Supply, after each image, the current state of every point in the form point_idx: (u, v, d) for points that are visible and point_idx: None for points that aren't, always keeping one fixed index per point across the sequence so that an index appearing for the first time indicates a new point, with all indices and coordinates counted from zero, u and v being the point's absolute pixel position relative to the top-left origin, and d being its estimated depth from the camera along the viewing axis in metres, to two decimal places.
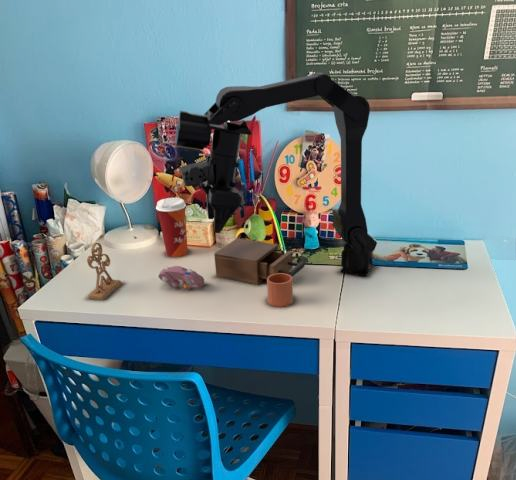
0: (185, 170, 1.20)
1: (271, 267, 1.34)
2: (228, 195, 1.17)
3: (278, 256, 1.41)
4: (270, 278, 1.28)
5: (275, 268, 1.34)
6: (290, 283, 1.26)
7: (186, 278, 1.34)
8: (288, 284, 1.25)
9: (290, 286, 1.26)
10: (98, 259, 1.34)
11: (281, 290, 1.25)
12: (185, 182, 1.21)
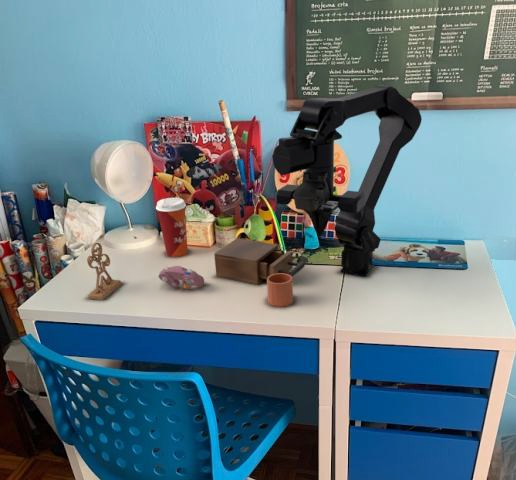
0: (310, 196, 1.17)
1: (271, 267, 1.34)
2: (361, 198, 1.20)
3: (278, 256, 1.41)
4: (270, 278, 1.28)
5: (275, 268, 1.34)
6: (290, 283, 1.26)
7: (186, 278, 1.34)
8: (288, 284, 1.25)
9: (290, 286, 1.26)
10: (98, 259, 1.34)
11: (281, 290, 1.25)
12: (313, 207, 1.18)
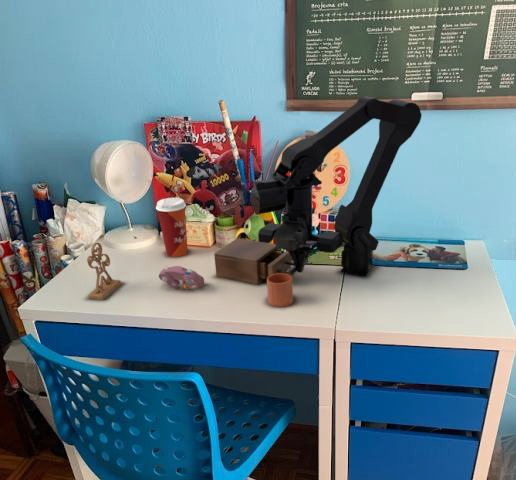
0: (289, 237, 1.24)
1: (269, 267, 1.34)
2: (338, 238, 1.27)
3: (276, 256, 1.41)
4: (270, 278, 1.28)
5: (274, 268, 1.35)
6: (290, 283, 1.26)
7: (186, 278, 1.34)
8: (288, 284, 1.25)
9: (290, 286, 1.26)
10: (98, 259, 1.34)
11: (281, 290, 1.25)
12: (292, 247, 1.25)
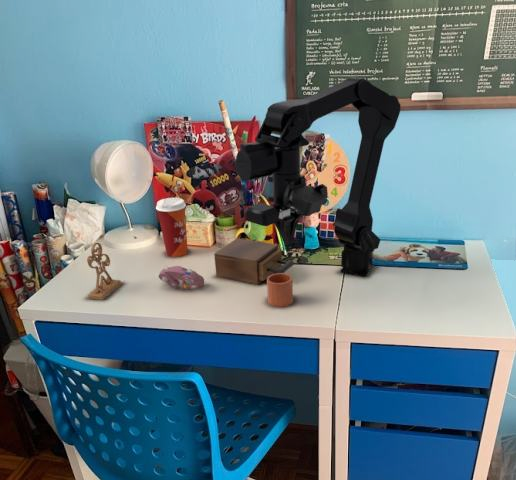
0: (320, 196, 1.16)
1: (260, 265, 1.35)
2: None
3: None
4: (270, 278, 1.28)
5: (264, 266, 1.36)
6: (290, 283, 1.26)
7: (186, 278, 1.34)
8: (288, 284, 1.25)
9: (290, 286, 1.26)
10: (98, 259, 1.34)
11: (281, 290, 1.25)
12: (320, 207, 1.17)
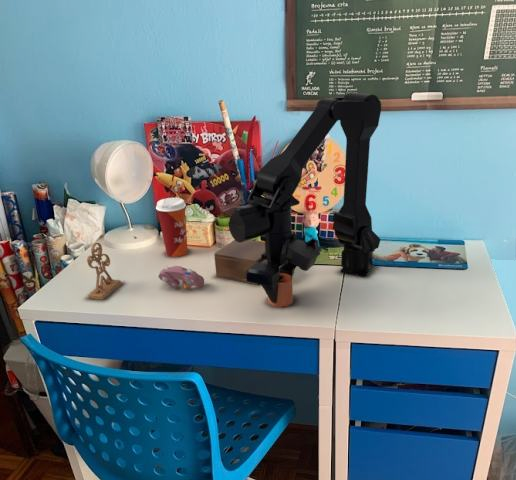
0: (315, 250, 1.21)
1: None
2: None
3: None
4: None
5: None
6: (290, 283, 1.26)
7: (186, 278, 1.34)
8: (288, 284, 1.25)
9: (290, 286, 1.26)
10: (98, 259, 1.34)
11: (281, 290, 1.25)
12: None
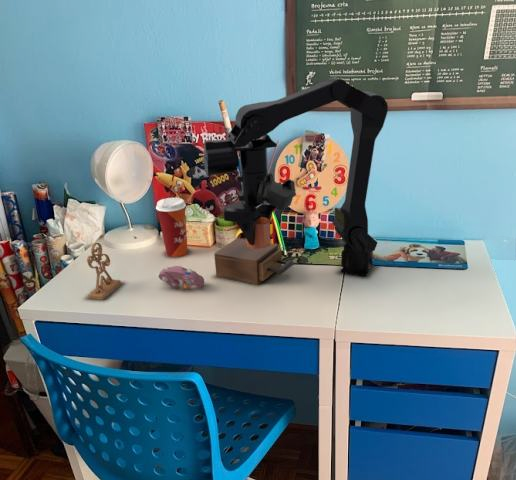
0: (291, 191, 1.24)
1: (260, 265, 1.35)
2: None
3: None
4: None
5: (264, 266, 1.36)
6: (267, 225, 1.28)
7: (186, 278, 1.34)
8: (265, 226, 1.28)
9: (267, 228, 1.29)
10: (98, 259, 1.34)
11: (258, 231, 1.28)
12: None
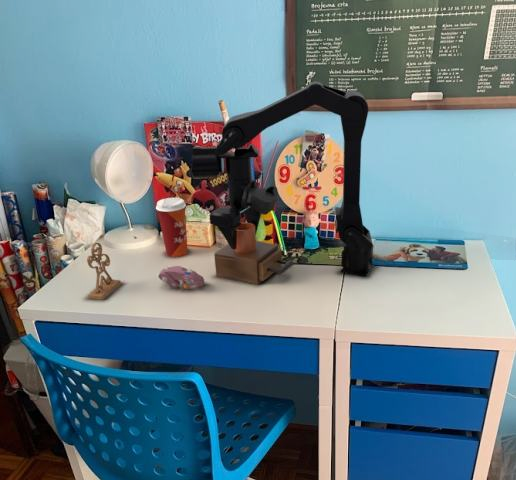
0: (273, 196, 1.32)
1: (260, 265, 1.35)
2: None
3: None
4: None
5: (264, 266, 1.36)
6: (252, 230, 1.37)
7: (186, 278, 1.34)
8: (250, 231, 1.37)
9: (253, 233, 1.37)
10: (98, 259, 1.34)
11: (244, 237, 1.37)
12: None
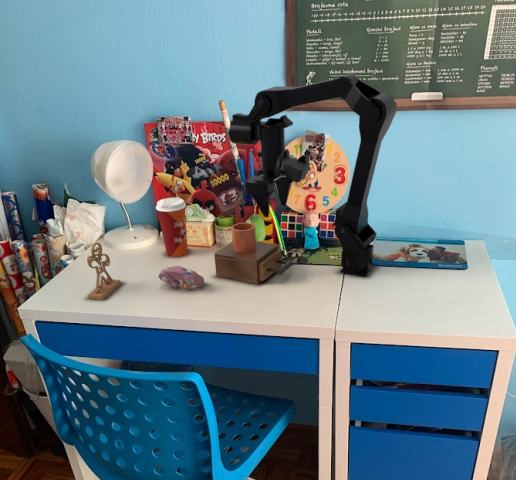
0: (305, 165, 1.37)
1: (260, 265, 1.35)
2: None
3: None
4: (235, 227, 1.39)
5: (264, 266, 1.36)
6: (252, 230, 1.37)
7: (186, 278, 1.34)
8: (250, 231, 1.37)
9: (253, 233, 1.37)
10: (98, 259, 1.34)
11: (244, 237, 1.37)
12: None
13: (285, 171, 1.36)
